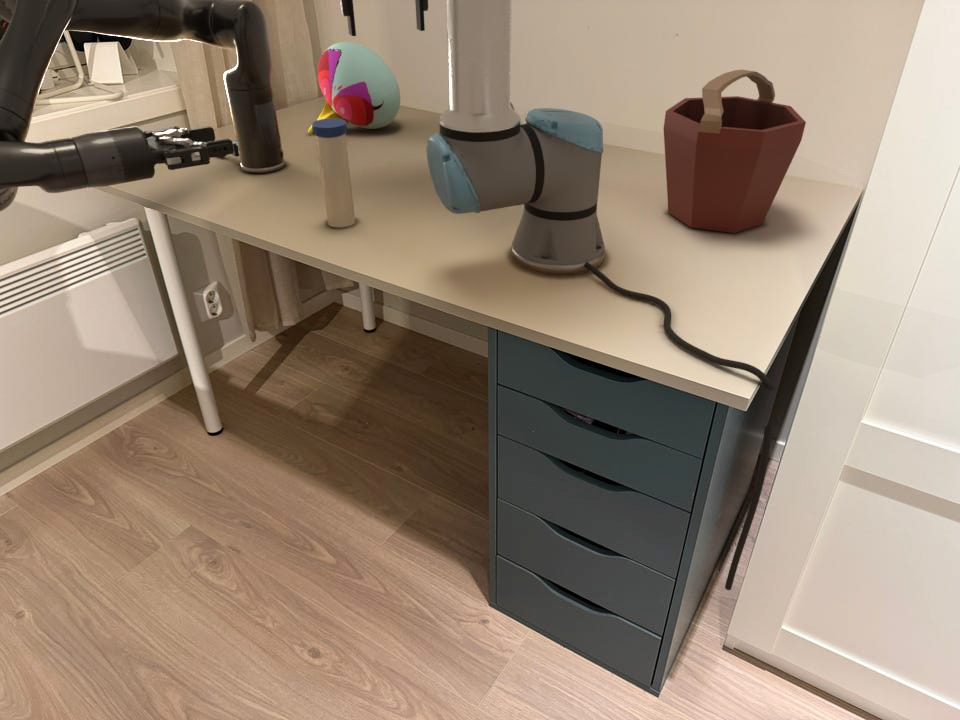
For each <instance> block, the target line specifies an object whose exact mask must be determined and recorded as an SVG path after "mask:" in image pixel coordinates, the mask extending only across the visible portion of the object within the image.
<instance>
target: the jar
mask: <svg viewBox="0 0 960 720" xmlns="http://www.w3.org/2000/svg"><path fill="white" fill-rule="evenodd" d="M346 136H347V135H346V133H345V134H343V135H340V136H336V137H319V136H316V135H315V139H316V147H317V154H318V161H319V168H320V176H321V183H322V184H321V185H322V189H323V190H322V191H323V197H324V205H325V212H326V219H327V224H328V226H329V227H332V228H339V229H340V228H347V227H351V226H353V225H354V224H355V223H356V214H355V207H354V199H353V197H354V196H353V189H352V188H353V187H352V182H351V181H352V180H351V172H350V163H349V155H348V145H347V137H346Z"/></svg>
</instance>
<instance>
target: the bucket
mask: <svg viewBox="0 0 960 720" xmlns="http://www.w3.org/2000/svg"><path fill="white" fill-rule="evenodd" d="M746 77H747V78H748V79H749V80H750V81H751V82H752V83H754V84H755V85H756V88H757V91H758V98H757V99H754V98H750V97H744V96H739V95H736V96H733V95H732V96H731V95H730V96H722V92H724V91H725V90H726V89H727V88H728V87H729V86H730V85H732V84H734V83H735V82H737V81H738V80H740V79H743V78H746ZM701 96H702V97H685V98H683V99H682V100H680V101H679V102H677V103H676V104H674V105H672V106H670V107H669V108H668V109H667V110H665V115H664V122H663V143H664V156H665V157H664V159H665V161H664V162H665V177H666V179H665V180H666V192H667V193H666V194H667V196H666V197H667V212H668V214H670V215H671V216H672V217H674V218H676V219H677V220H679V221H680V222H681V223H683V224H684V225H686V226H687V227H689V228H691V229H698V230H707V231H715V232H721V233H732V234H735V233H739V232H742V231H745V230H749V229H751V228H754V227H757V226H760V225H762V224H764V222H765V219H766V218H767V215H768V213H769V211H770V209H771V207H772V205H773V202H774V201H775V198H776V196H777V195H778V192H779V189H780V187H781V185H782V183H783V181H784V179H785V177H786V175H787V173H788V170H789V168H790V167H791V164H792V162H793V159H794V158H795V155H796V153H797V151H798V150H799V149H798V148H799V147H800V145H801V142H802V139H803V135H804V132H805V128H806V125H807V124H806V120H805V119H804V118H803V117H802V116H801V115H800V114H799V113H798V112H797V111H796V110H795V109H794V108H793V107H792V106H791V105H787V104H781V103H776V102H774V101H775V98H776V92H775V88H774V83H773V82H772V81H771V80H769V79H768V78H767V77H766V76H765V75H763V74H761V73H760V72H758V71H755V70H748V69H735V70H732V71H727V72H724V73H722V74H720V75H717V76H716V77H714V78H713V79H711V80H709V81H708V82H707V83H706V84H705V85H704V86H703V87H702V88H701Z"/></svg>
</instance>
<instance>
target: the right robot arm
mask: <svg viewBox="0 0 960 720" xmlns="http://www.w3.org/2000/svg"><path fill="white" fill-rule="evenodd" d="M414 2H415V22H416V30H418V31H420V32H425V31H426V29H425V27H426V26H425V12H428V10H429V0H414ZM339 4H340V12H341V16H343V17H346V19H347V28H348V29H347V30H348V35H350V36H351V37H357V31H356V20H355V12H354V0H339ZM445 5H446V6H445V7H446V37H447V71H448V73H447V74H448V99H449V100H448V101H449V102H448V103H449V104H448V107H447V108H446V110H445V111H444V112H443V113H441V115H440V117H439V119H438V121H439V123H438V124H439V126H438V127H439V133H433V134H432V135H430V136H429V137H428V138H427V141H426V144H427V145H426V159H427V166H428V170H429V174H430V177H431V181H432V184H433V187H434V189H435V192H436V195H437V196H438V199H439V200H440V202H441V204H442V205H443V206H444V207H445V208H446V210H447V211H448V212H449V213H453V214H456V215H462V214H471V213H474V214H480V213H482V212H487V211H493V210H499V209H504V208H505V209H506V208H509V207H515V206H520V205H523V212H522V215H521V218H520V220H519V224H518V226H517V229H516V232H515V234H514V237H513V240H512V243H511V244H512V245H511V257H512V259H513V261H514V262H515V263H516V264H517V265H519V267H521V268H524V269H526V270H528V271H530V272H532V273H533V272H534V273H537V274H541V275H547V276H558V277H559V276H560V277H561V276H573V275H574V276H575V275H580V274H584V273H588V272H590V273H592V274H593V275H594V276H596V277H597V278H598V279H599V280H600V281H601V282H603V283H604V284H605V285H606V286H607V287H609V289H611V290H612V291H614V292H616V293H618V294H620V295H622V296H624V297H629V298H633V299H637V300H641V301H646V302H650V303H653V304H655V305H657V306H659V307H660V308H661V309H662V310H663V313H664V316H663V329H664V332H665V333H666V335H667V336H668V337H669V339H670V340H672V342H674V343H675V344H676V345H678V346H680V347H681V348H683V349H685V350H686V351H688V352H690V353H692V354H694V355H696V356H698V357H700V358H702V359H703V360H706V361H708V362H710V363H713V364H715V365H718V366H721V367H722V366H723V367H726V368H733V369H738V370H741V371H746V372H748V373H750V374H752V375H754V376H755V377H756V378H758V379H759V380H760V381H761V383H762V384H763V386H764V387H765V389H767V390H770V391H774V390H775V386H774V385H773V382H772V381H771V380H770V378H769V377H768V376H767V375H766V373H764V372H763V371H762V370H761V369H759V368H758V367H756V366H754V365H751V364H749V363H746V362H742V361H738V360H731V359H728V358H722V357H719V356H716V355H713V354H711V353H709V352H707V351H706V350H703V349H701V348H699V347H697V346H695V345H693V344H692V343H689V342H687V341H686V340H684V339H683V338H682V337H680V335H678V334H677V333H676V332H675V331H674V330H673V328H672V326H671V321H672V311H671V308H670V306H669V305H668V303H667V302H665V301H664V300H662V299H661V298H659V297H656V296H654V295H651V294H646V293H643V292H642V293H641V292H637V291H633V290H629V289H626V288H624V287H621V286H619V285H617V284H615V283H614V282H613V281H612V280H611V279H610V278H608V277H607V276H606V275H605V274H604V273H602V271H600V270H599V269H598V267H599V266H600V265H601V264H602V263H603V261H604V258H605V249H606V247H605V242H604V239H603V233H602V230H601V226H600V222H599V218H598V213H597V212H598V199H599V188H600V179H601V178H600V177H601V167H602V159H603V156H602V155H603V154H604V129H603V126H602V124H601V123H600V121H598V119H596V118H595V117H592V116H590V115H589V114H585V113H582V112H578V111H574V110H568V109H563V108H562V109H561V108H553V107H552V108H551V107H548V108H547V107H538V108H534V109H531V110H529V111H528V112H527V113H526V115H525V118H524V119H525V123H523V124H522V123H521V115H519V113H517V112H516V111H514V110H515V109H514V110H513V108H512V107H511V105H510V102H511V82H512V81H511V80H512V79H511V77H512V75H511V73H512V72H511V71H512V17H513V16H512V15H513V14H512V13H513V11H512V10H513V9H512V7H513V0H445ZM773 425H774V424H773V422H771V423H769V424H767V425H765V426H764V428H763V439H762V446H761V454H760V460H759V465H758V471H757V477H756V481H755V484H754V489H753V493H752V496H751V500H750V503H749V506H748V510H747V512H746V516H745V519H744V523H743V526H742V528H741V532H740V535H739V539H738V541H737V544H736V546H735V547H736V548H735V550H734V553H733V557H732V560H731V563H730V567H729V570H728V574H727V577H726V581H725V586H724V589H725V590H727V591H731V590H732V589H733V584H734V580H735V576H736V574H737V570H738V566H739V564H740V560H741V557H742V554H743V552H744V551H743V550H744V548H745V546H746V545H745V544H746V542H747V539H748V536H749V532H750V530H751V527H752V524H753V521H754V518H755V515H756V511H757V508H758V505H759V501H760V498H761V494H762V492H763V491H762V490H763V487H764V482H765V478H766V474H767V468H768V463H769V457H770V452H771V445H772V444H771V443H772V436H773V435H772V434H773Z"/></svg>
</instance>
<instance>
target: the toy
mask: <svg viewBox="0 0 960 720" xmlns="http://www.w3.org/2000/svg"><path fill="white" fill-rule="evenodd" d="M317 81H318V85H319V88H320V91H321V93H322V95H323V97H324V99H325V102H324V108H323V109H322V111H321V113H320V114H319V116H318V118H317V119H316V121H317V120H321V119H329V118H336V119H342V120H345V121H346V125H348V124H351V125H353V126H356V127H358V128H361V129H366V130H378V129H382V128H384V127H386V126H388V125H390V124H391V123H392V122H393V121H394V120H395V118H396V117H397V115H398V113H399V111H400V107H401V91H400V86H399V84H398V80H397V78H396V76H395V74H394V72H393V71H392V69H391V67H390V66H389V65H388V64H387V62H386V61H385V60H384V59H383V58H382V57H381V56H380V55H379V54H378V53H376V52H375V51H374V50H372V49H370V48H369V47H367V46H365V45H362V44H360V43H357V42H353V41H352V42H351V41H341V42H337V43H336V42H335V43H334V44H332V45H330V46H329V47H327V48H326V49H325V50H324V51H323V52H322V54H321V56H320V58H319V61H318V64H317ZM307 132H308V134H313V131H312V125H311V126H310V127H309V128H308V129H307ZM313 135H314V134H313Z"/></svg>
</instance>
